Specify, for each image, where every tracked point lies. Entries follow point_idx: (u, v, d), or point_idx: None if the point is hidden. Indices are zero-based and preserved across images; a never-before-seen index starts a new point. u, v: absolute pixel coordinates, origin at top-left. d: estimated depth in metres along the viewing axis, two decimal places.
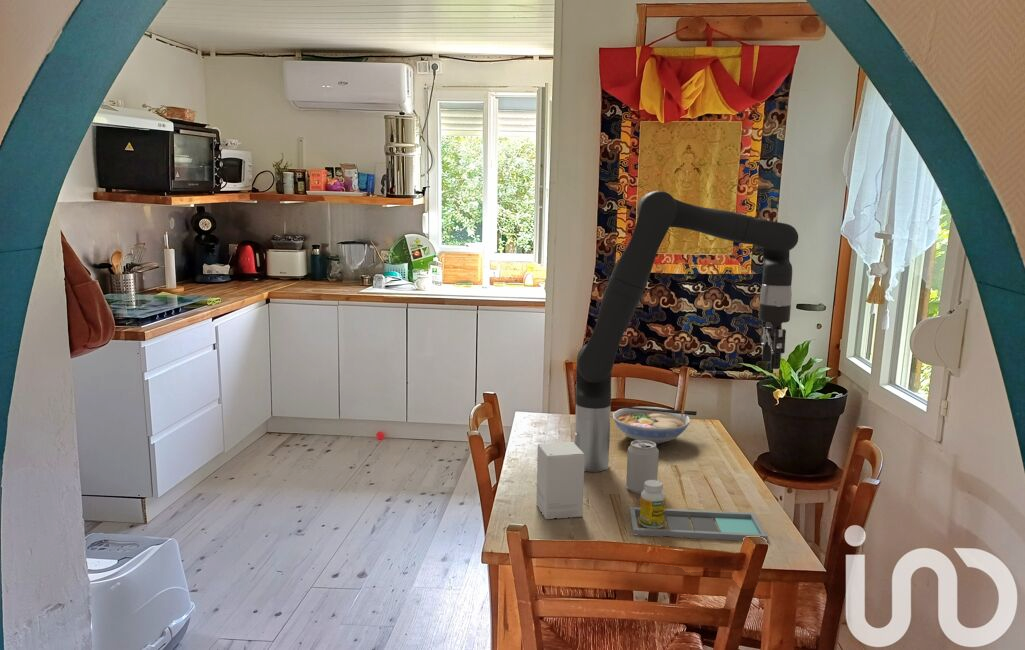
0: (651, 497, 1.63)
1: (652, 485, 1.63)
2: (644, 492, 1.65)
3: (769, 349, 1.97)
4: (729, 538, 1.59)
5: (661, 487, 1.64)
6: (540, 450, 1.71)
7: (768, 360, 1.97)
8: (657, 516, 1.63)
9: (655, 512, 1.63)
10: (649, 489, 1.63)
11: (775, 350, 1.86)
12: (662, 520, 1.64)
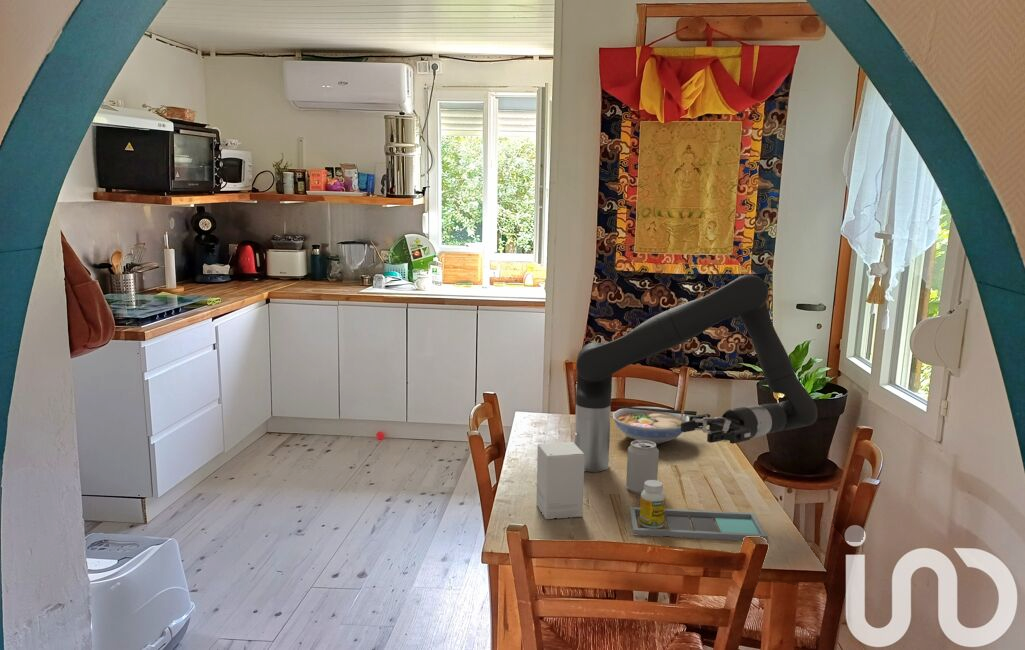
0: (651, 497, 1.63)
1: (652, 485, 1.63)
2: (644, 492, 1.65)
3: (693, 427, 1.74)
4: (729, 538, 1.59)
5: (661, 487, 1.64)
6: (540, 450, 1.71)
7: (683, 430, 1.72)
8: (657, 516, 1.63)
9: (655, 512, 1.63)
10: (649, 489, 1.63)
11: (735, 433, 1.65)
12: (662, 520, 1.64)
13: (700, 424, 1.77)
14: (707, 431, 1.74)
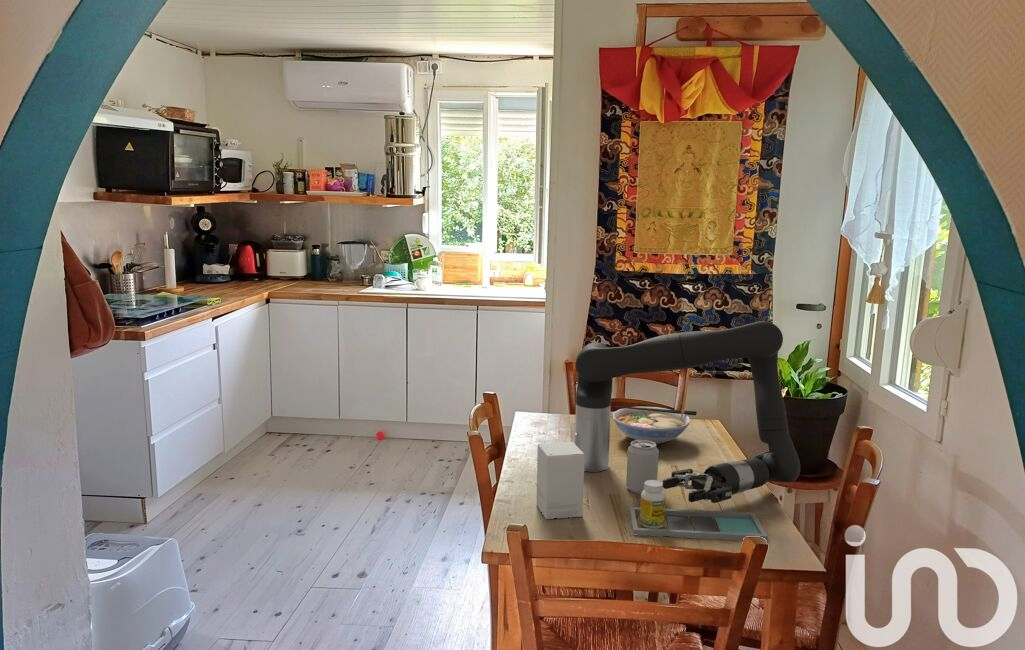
0: (651, 497, 1.63)
1: (652, 485, 1.63)
2: (644, 492, 1.65)
3: (675, 484, 1.74)
4: (729, 538, 1.59)
5: (661, 487, 1.64)
6: (540, 450, 1.71)
7: (665, 486, 1.72)
8: (657, 516, 1.63)
9: (655, 512, 1.63)
10: (649, 489, 1.63)
11: (716, 493, 1.65)
12: (662, 520, 1.64)
13: (682, 479, 1.77)
14: (689, 487, 1.74)
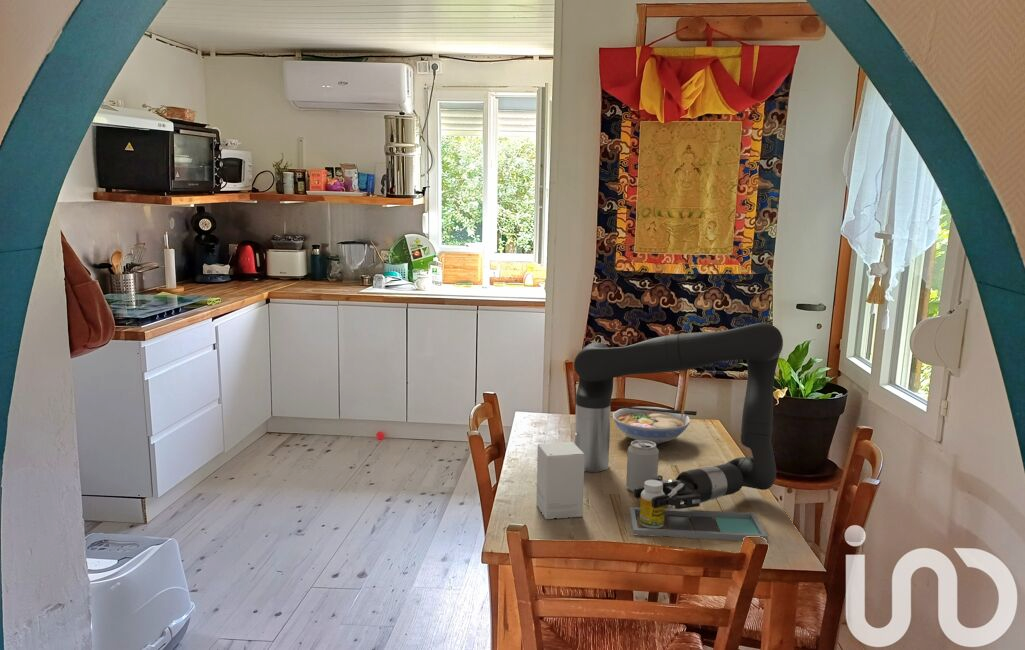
0: (651, 497, 1.63)
1: (652, 485, 1.63)
2: (644, 492, 1.65)
3: None
4: (729, 538, 1.59)
5: (661, 487, 1.64)
6: (540, 450, 1.71)
7: (636, 496, 1.66)
8: (657, 516, 1.63)
9: (655, 512, 1.63)
10: (649, 489, 1.63)
11: (680, 499, 1.61)
12: (662, 520, 1.64)
13: None
14: None
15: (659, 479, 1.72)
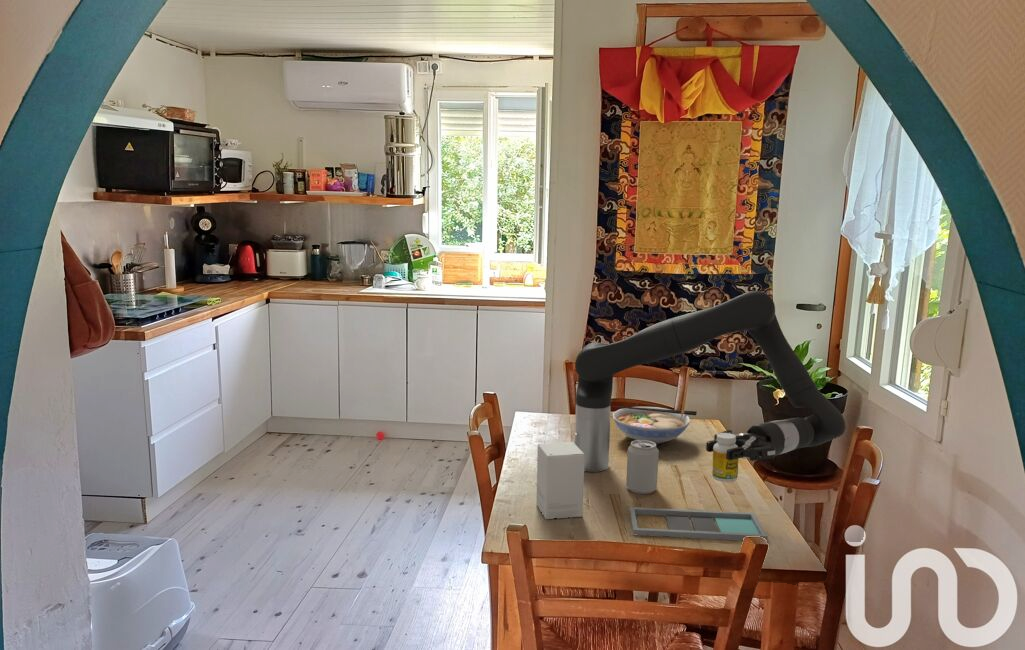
0: (725, 449, 1.60)
1: (726, 437, 1.60)
2: (717, 445, 1.62)
3: None
4: (729, 538, 1.59)
5: (734, 439, 1.60)
6: (540, 450, 1.71)
7: (709, 449, 1.63)
8: (731, 469, 1.60)
9: (730, 464, 1.60)
10: (723, 442, 1.60)
11: (755, 450, 1.58)
12: (736, 473, 1.61)
13: None
14: None
15: None
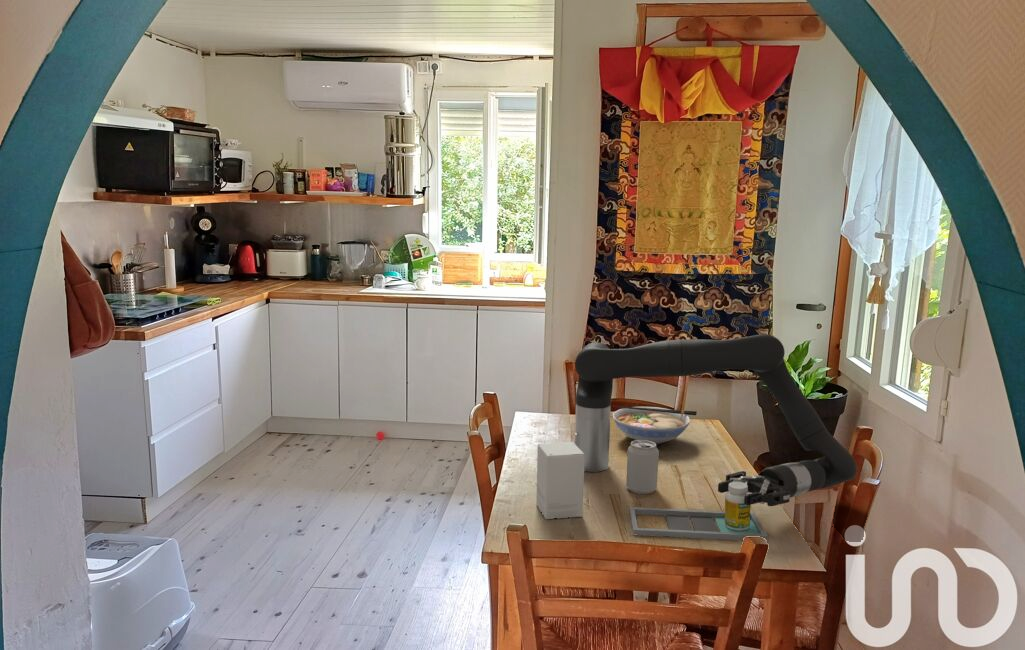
0: (737, 499, 1.61)
1: (738, 487, 1.62)
2: (729, 494, 1.63)
3: None
4: (729, 538, 1.59)
5: (746, 489, 1.62)
6: (540, 450, 1.71)
7: (721, 490, 1.66)
8: (743, 518, 1.62)
9: (742, 514, 1.62)
10: (735, 492, 1.62)
11: (773, 496, 1.59)
12: (748, 522, 1.63)
13: None
14: None
15: (742, 475, 1.71)
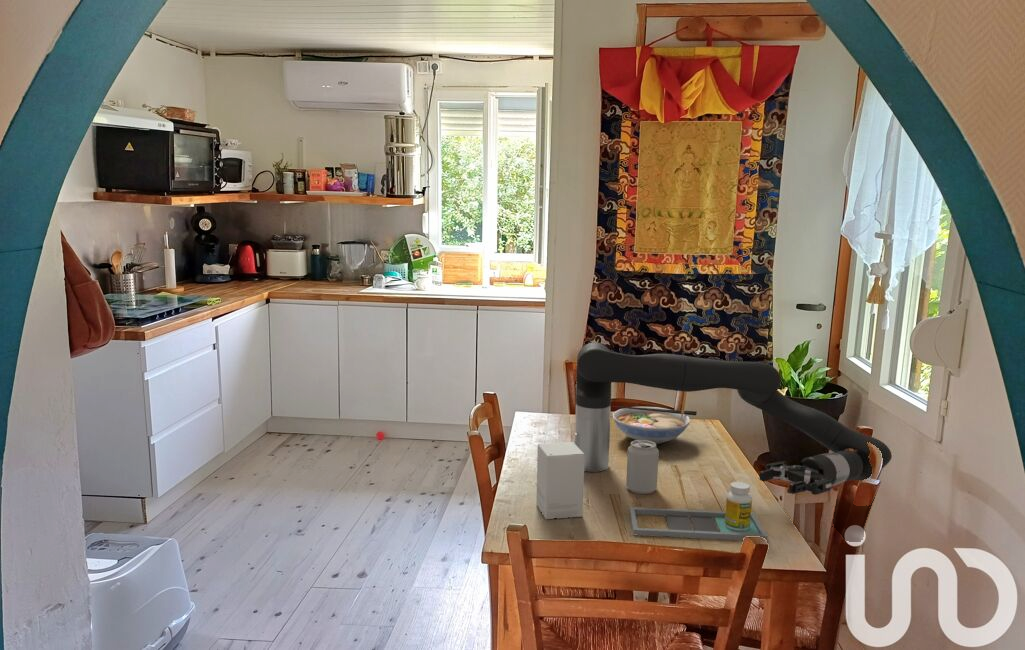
0: (739, 499, 1.61)
1: (740, 487, 1.62)
2: (730, 494, 1.63)
3: (771, 476, 1.74)
4: (729, 538, 1.59)
5: (748, 489, 1.62)
6: (540, 450, 1.71)
7: (762, 479, 1.72)
8: (744, 518, 1.62)
9: (743, 514, 1.62)
10: (737, 491, 1.62)
11: (817, 484, 1.65)
12: (749, 523, 1.63)
13: (777, 472, 1.77)
14: (785, 480, 1.74)
15: (783, 464, 1.77)
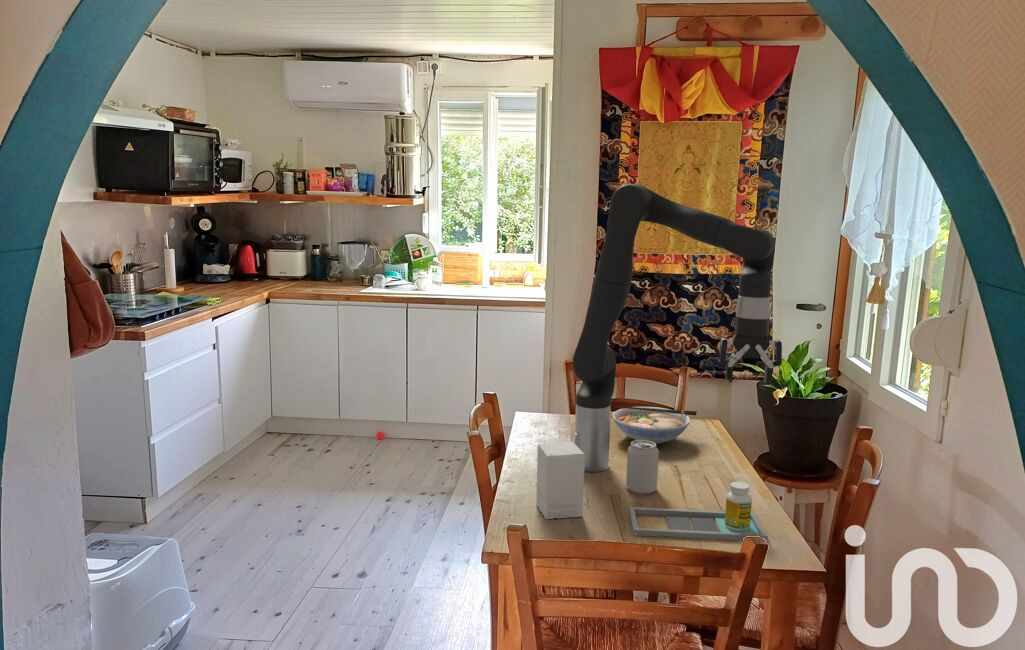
0: (739, 499, 1.61)
1: (740, 487, 1.62)
2: (730, 494, 1.63)
3: None
4: (729, 538, 1.59)
5: (748, 489, 1.62)
6: (540, 450, 1.71)
7: None
8: (744, 518, 1.62)
9: (743, 514, 1.62)
10: (737, 491, 1.62)
11: None
12: (749, 523, 1.63)
13: None
14: None
15: (727, 347, 1.78)
